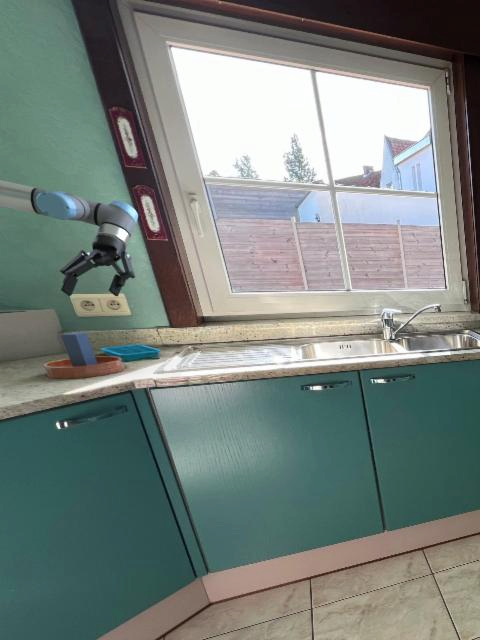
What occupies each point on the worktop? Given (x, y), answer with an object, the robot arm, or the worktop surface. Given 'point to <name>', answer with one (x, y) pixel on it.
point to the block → (79, 349)
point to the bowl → (84, 368)
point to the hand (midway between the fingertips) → (89, 293)
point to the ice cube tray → (132, 352)
